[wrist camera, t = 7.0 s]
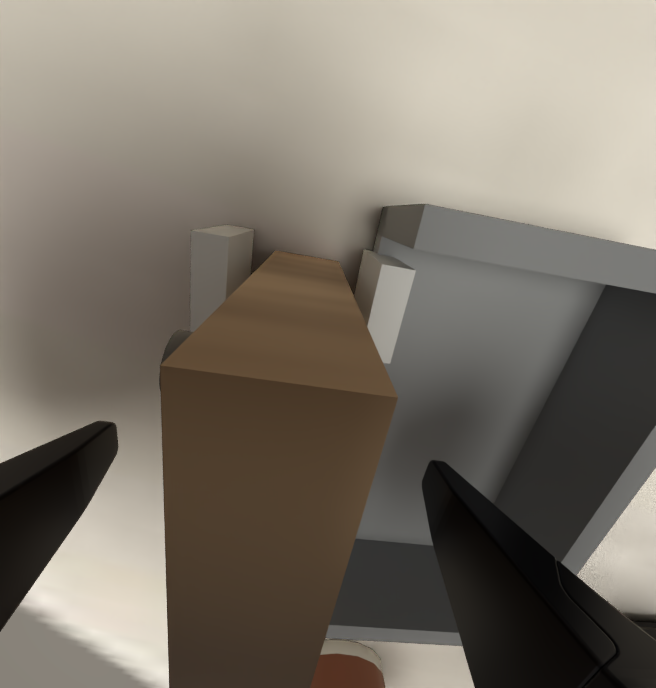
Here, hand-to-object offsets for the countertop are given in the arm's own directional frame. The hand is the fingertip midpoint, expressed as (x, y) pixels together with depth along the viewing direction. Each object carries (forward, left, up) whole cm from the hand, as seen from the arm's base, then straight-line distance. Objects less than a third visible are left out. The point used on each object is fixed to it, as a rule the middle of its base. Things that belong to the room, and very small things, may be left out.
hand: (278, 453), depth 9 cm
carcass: (0, -4, -3) cm, 5 cm away
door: (0, 0, -3) cm, 3 cm away
